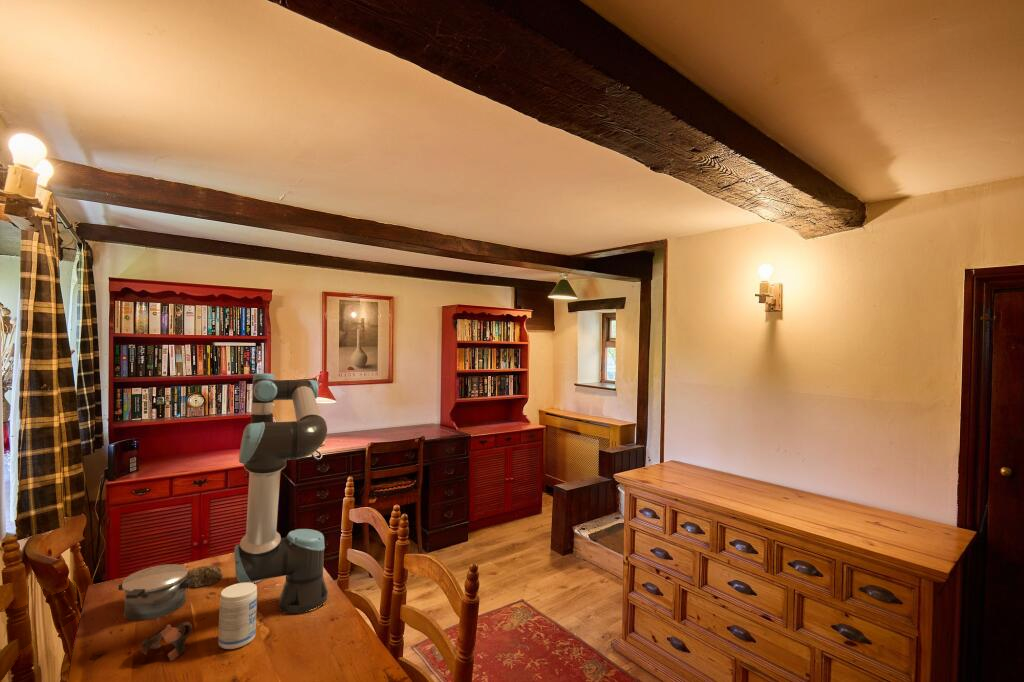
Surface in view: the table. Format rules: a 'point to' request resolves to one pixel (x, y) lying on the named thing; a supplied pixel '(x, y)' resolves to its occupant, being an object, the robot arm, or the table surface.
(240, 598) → the supplement tub
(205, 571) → the speckled stone
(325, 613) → the table surface
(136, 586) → the lid
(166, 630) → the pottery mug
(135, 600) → the cooker pot
